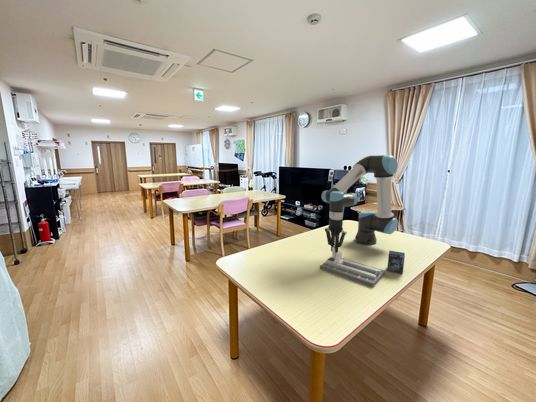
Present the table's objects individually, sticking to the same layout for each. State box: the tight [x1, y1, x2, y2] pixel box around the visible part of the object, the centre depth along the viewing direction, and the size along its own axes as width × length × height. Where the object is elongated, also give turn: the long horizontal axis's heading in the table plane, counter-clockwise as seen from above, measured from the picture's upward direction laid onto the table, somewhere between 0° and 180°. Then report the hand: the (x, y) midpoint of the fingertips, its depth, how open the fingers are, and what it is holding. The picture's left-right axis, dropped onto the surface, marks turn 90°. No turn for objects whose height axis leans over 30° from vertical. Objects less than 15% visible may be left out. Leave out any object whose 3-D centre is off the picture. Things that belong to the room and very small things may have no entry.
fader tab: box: [334, 250, 343, 264], centre depth 139 cm, size 4×4×7 cm
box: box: [386, 250, 406, 275], centre depth 134 cm, size 8×6×11 cm
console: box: [319, 256, 386, 288], centre depth 134 cm, size 18×30×4 cm, turn 48°
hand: (334, 257), depth 141 cm, fingers closed
